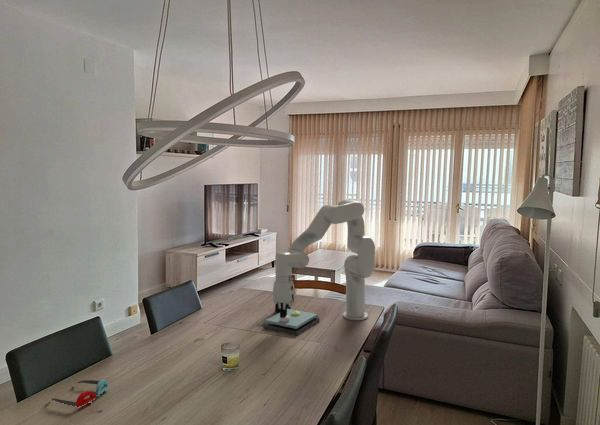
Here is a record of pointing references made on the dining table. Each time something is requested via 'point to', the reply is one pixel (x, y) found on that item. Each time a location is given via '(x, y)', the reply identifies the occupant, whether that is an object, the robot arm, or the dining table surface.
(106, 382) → the novelty glasses
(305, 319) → the plate
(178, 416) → the dining table surface
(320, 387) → the dining table surface
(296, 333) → the levelling base
